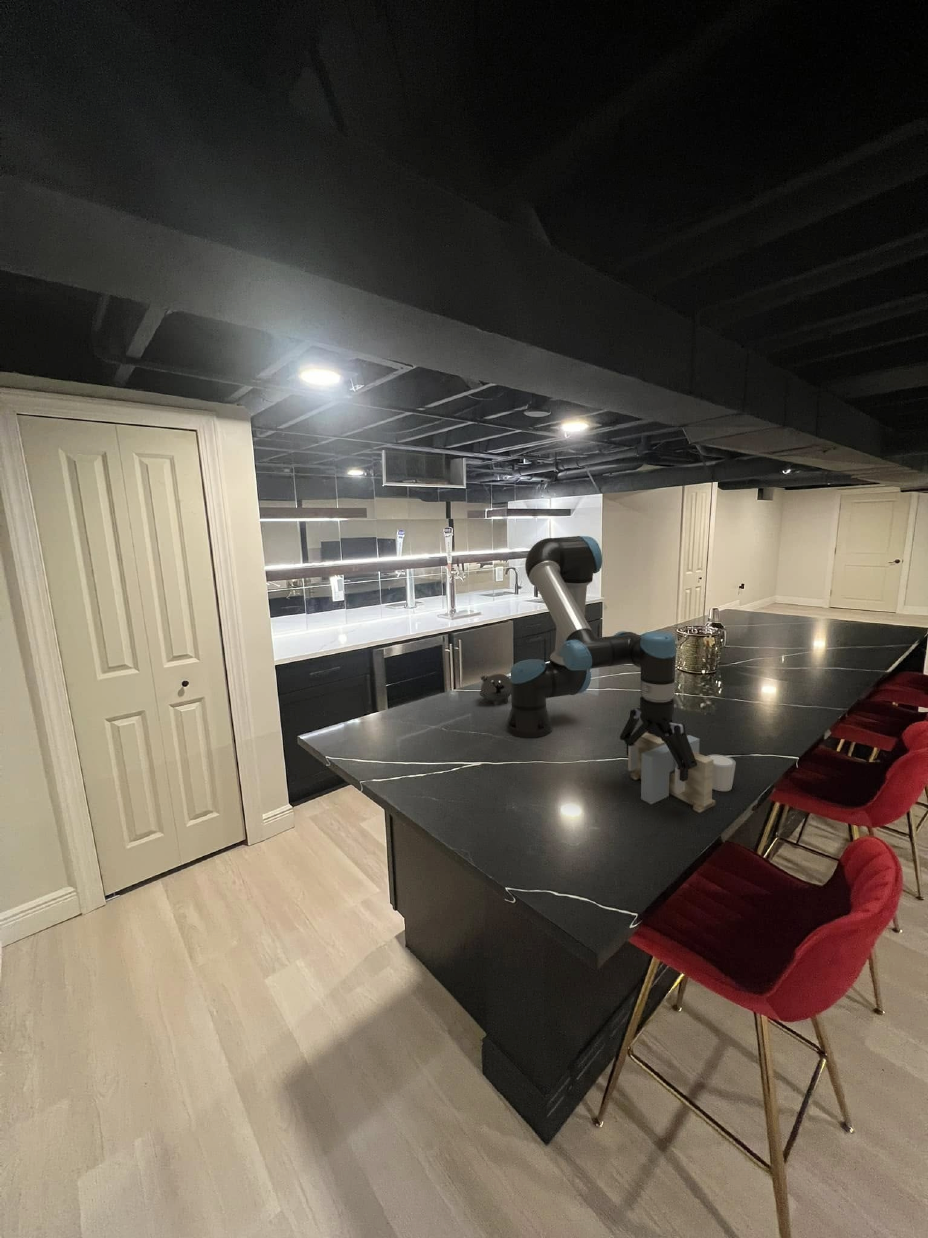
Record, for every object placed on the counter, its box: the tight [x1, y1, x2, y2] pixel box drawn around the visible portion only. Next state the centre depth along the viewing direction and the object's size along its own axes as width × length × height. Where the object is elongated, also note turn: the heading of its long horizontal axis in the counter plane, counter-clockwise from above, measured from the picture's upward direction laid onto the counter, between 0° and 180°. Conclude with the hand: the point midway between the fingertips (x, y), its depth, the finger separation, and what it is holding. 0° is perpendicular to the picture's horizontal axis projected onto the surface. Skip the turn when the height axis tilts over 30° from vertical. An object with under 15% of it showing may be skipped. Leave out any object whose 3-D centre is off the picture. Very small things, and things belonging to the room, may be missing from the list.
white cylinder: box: [706, 753, 737, 792], centre depth 122 cm, size 7×7×7 cm
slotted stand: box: [630, 732, 716, 814], centre depth 120 cm, size 20×6×12 cm, turn 30°
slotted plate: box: [640, 734, 701, 805], centre depth 120 cm, size 18×3×12 cm, turn 120°
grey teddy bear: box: [479, 673, 511, 706], centre depth 189 cm, size 11×15×12 cm
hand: (655, 780), depth 117 cm, fingers open, 13 cm apart
